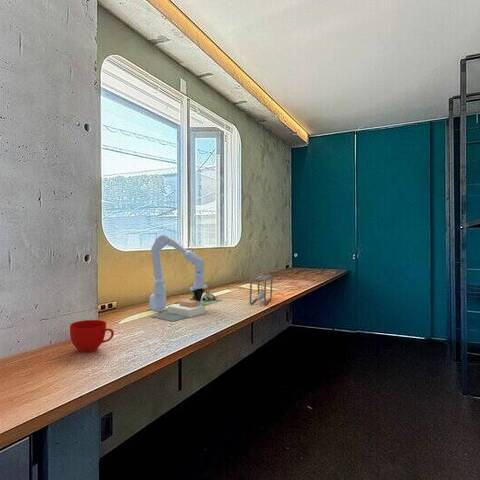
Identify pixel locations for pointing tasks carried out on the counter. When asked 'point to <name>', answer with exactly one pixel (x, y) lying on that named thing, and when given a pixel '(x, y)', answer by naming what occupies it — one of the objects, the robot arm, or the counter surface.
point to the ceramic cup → (88, 334)
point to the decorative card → (205, 299)
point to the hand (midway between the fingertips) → (198, 301)
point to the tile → (189, 303)
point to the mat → (169, 317)
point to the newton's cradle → (262, 294)
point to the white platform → (185, 310)
